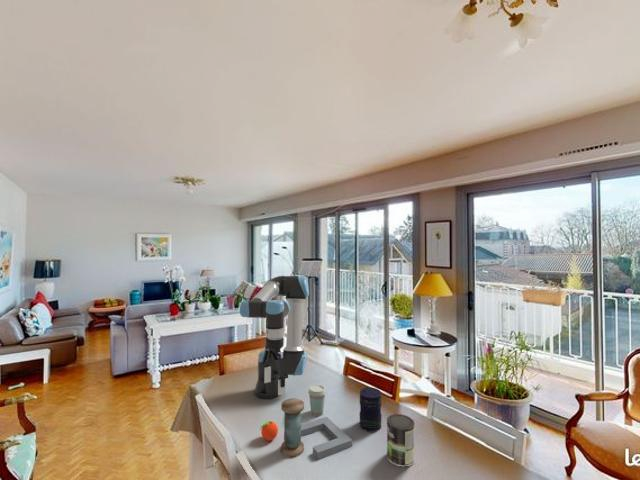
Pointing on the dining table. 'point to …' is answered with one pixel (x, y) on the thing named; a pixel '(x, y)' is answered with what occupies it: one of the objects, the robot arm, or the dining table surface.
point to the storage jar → (370, 409)
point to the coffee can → (400, 440)
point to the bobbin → (292, 427)
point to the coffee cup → (317, 399)
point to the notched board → (336, 433)
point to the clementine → (269, 430)
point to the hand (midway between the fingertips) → (274, 388)
